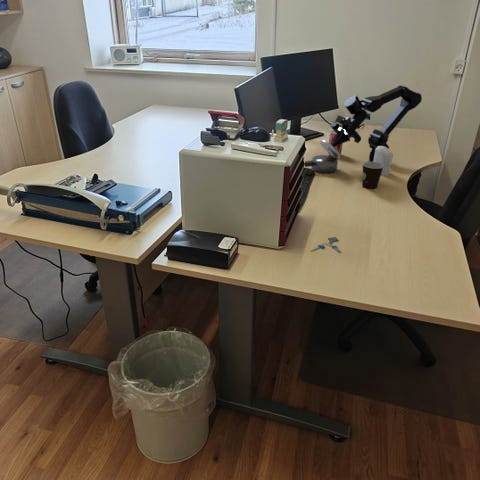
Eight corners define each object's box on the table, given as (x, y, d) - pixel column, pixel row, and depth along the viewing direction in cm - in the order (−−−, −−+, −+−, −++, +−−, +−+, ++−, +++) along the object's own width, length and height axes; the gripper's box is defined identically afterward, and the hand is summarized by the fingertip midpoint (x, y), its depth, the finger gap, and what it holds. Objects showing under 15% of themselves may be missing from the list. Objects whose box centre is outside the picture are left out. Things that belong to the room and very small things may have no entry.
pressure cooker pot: (327, 163, 220) (328, 154, 217) (341, 171, 210) (342, 161, 208) (295, 168, 213) (296, 158, 211) (308, 176, 204) (309, 166, 201)
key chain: (330, 236, 155) (331, 234, 155) (352, 244, 151) (352, 242, 150) (309, 252, 146) (310, 250, 145) (332, 260, 141) (332, 258, 141)
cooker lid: (329, 154, 217) (332, 150, 217) (343, 161, 208) (346, 157, 208) (315, 138, 210) (319, 134, 210) (329, 145, 201) (333, 141, 200)
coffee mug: (380, 191, 190) (384, 169, 185) (359, 189, 192) (363, 167, 187) (378, 181, 200) (382, 160, 195) (358, 179, 201) (362, 158, 197)
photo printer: (390, 175, 207) (395, 150, 200) (382, 176, 205) (387, 151, 199) (378, 168, 215) (382, 143, 209) (370, 169, 214) (374, 144, 208)
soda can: (337, 157, 228) (340, 134, 222) (325, 155, 232) (327, 132, 226) (343, 154, 233) (346, 131, 227) (331, 151, 237) (333, 129, 231)
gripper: (335, 105, 210) (313, 130, 211) (359, 113, 195) (335, 140, 197) (347, 120, 216) (325, 144, 218) (371, 130, 202) (347, 155, 203)
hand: (333, 146), depth 209 cm, fingers closed
